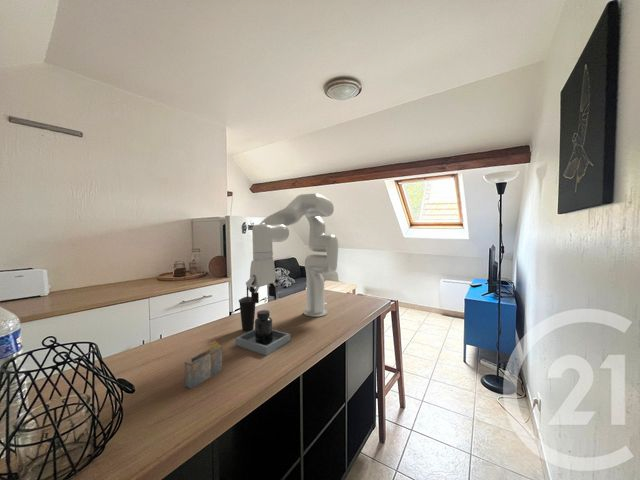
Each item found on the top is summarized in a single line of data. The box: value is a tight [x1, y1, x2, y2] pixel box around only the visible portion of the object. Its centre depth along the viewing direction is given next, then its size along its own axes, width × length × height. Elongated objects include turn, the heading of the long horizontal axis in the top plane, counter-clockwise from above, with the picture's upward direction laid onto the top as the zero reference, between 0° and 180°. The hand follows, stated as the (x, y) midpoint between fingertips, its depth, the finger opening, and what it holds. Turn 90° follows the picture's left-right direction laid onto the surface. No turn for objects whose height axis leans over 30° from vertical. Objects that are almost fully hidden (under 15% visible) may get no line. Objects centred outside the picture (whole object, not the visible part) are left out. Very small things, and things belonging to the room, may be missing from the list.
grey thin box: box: [184, 339, 223, 390], centre depth 79 cm, size 11×3×10 cm, turn 154°
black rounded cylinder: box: [238, 286, 257, 333], centre depth 117 cm, size 8×8×20 cm
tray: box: [235, 328, 292, 357], centre depth 103 cm, size 14×16×3 cm
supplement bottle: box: [254, 309, 274, 345], centre depth 103 cm, size 7×7×12 cm
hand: (264, 299), depth 103 cm, fingers open, 9 cm apart
